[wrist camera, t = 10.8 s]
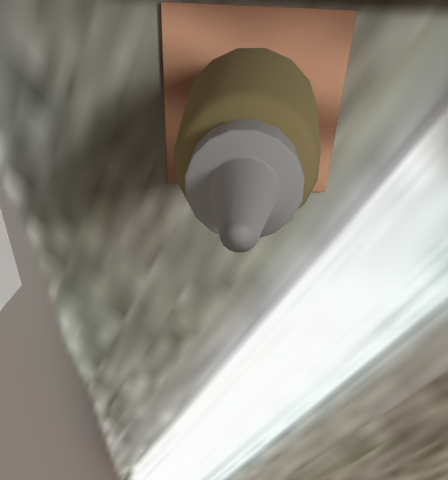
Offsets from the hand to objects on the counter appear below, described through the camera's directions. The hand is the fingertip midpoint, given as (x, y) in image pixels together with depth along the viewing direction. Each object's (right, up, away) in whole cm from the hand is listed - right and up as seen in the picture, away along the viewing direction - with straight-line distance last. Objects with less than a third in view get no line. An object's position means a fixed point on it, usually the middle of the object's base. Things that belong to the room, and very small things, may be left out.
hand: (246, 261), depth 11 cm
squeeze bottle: (+1, +10, +17) cm, 20 cm away
